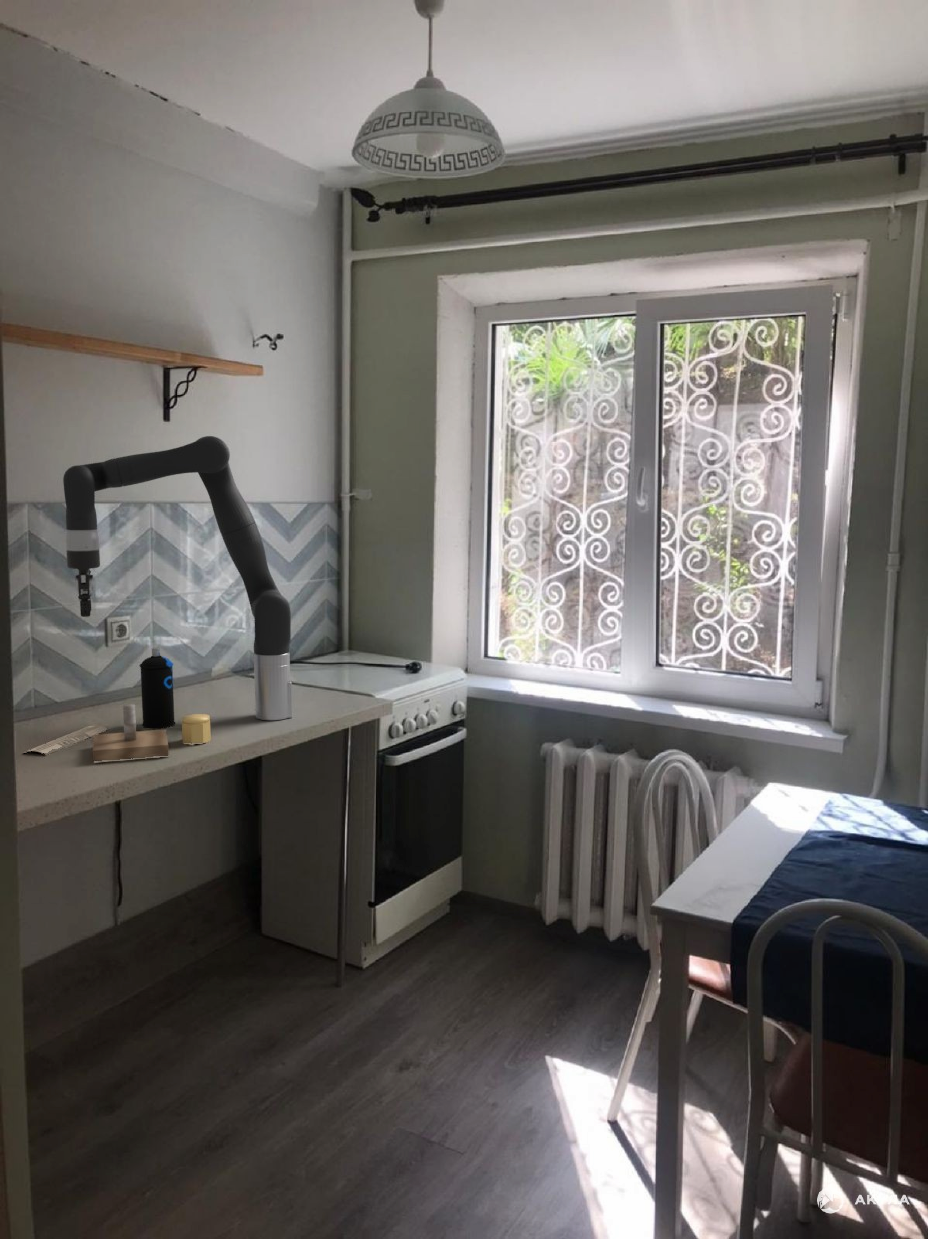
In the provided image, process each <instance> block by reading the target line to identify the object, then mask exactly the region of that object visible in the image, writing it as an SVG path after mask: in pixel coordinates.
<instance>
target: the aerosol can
mask: <svg viewBox="0 0 928 1239" xmlns="http://www.w3.org/2000/svg"><path fill="white" fill-rule="evenodd" d="M160 650H161V647H152V648H151V656H150V657H147V658H144V660H143V661H142V662H141V663H140V664H139V668H140V683H141V684H140V685H141V686H140V687H141V709H142V712H141V713H142V724H141V727H142V726H143V727H142V728H143V729H147V730H162V729H161V728H163V729H168V728H171V727H170V726H172V727H174V726H175V725H176V724H177V723H176V721H175V702H174V701H175V699H174V675H173V674H174V672H173V666H174V662H172V661H171V660H170V659H169V658H168V657H165V656H163V655H161V653H160ZM167 727H168V728H167Z"/></svg>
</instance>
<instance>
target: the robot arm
mask: <svg viewBox="0 0 928 1239" xmlns="http://www.w3.org/2000/svg"><path fill="white" fill-rule="evenodd" d="M230 453H231V452H230V449H229V447H228V445H227V444H226V442H225V441H224V440H223V439H221V438H219V437H218V436H212V435H206V436H202V437H200V438H198V439H196V440H195V441H193V442H190V443H187V444H184V445H182V446H177V447H175V448H171V449H165V450H160V451H154V452H153V451H152V452H144V453H138V454H137V453H136V454H131V455H126V456H125V455H124V456H120V457H113V458H111V459H107V460H105V461H101V462H93V463H87V464H86V463H85V464H78V465H73V466H71V467H68V468H67V470H65V472H64V474H63V478H62V479H63V480H62V482H63V484H62V485H63V492H64V501H65V502H64V503H65V508H66V509H65V527H66V528H65V529H66V531H65V532H66V534H65V545H66V546H65V550H66V565H67V568H68V569H73V570H74V569H75V570H78V574H76V575H75V584H76V594H78V597H77V598H78V600H79V606H80V607H79V609H80V616H81V617H83V618H89V617H91V612H92V599H91V598H92V594H93V588H94V587H93V583H94V574H91V573H92V571H91V569H97V568H100V566H101V557H100V539H99V532H98V520H97V518H98V517H97V511H96V507H95V504H96V502H95V498H96V497H95V496H96V495H95V494H96V493H95V492H99V491H103V490H106V489H112V488H115V489H116V488H122V487H128V486H132V485H138V484H142V483H146V482H151V481H154V480H159V479H161V478H166V477H169V476H175V475H183V474H189V473H191V474H192V473H193V474H194V473H198V475H199V478H200V479H201V482H202V483H203V486H204V487H205V489H206V491H207V494H208V496H209V500H210V503H211V508H212V511H213V515H214V518H215V520H216V524H217V526H218V529H219V532H220V535H221V537H222V540H223V543H224V545H225V548H226V549H227V552H228V554H229V556H230V558H231V560H232V562H233V565H234V566H235V568H236V570H237V572H238V574H239V576H240V577H241V579H242V582H243V585H244V588H245V590H246V595H247V598H248V602H249V605H250V610H251V614H252V616H253V618H254V640H253V667H254V668H253V670H254V671H253V673H254V674H253V675H254V678H253V679H254V707H255V708H254V711H255V712H254V714H255V718H256V719H258V720H263V721H279V720H284V719H290V718H293V685H292V684H293V683H292V681H291V666H290V665H291V658H290V657H291V656H290V654H291V653H290V651H291V650H290V648H291V647H290V646H291V638H292V636H291V634H292V631H291V630H292V629H291V627H292V626H291V625H292V624H291V623H292V621H291V617H292V616H291V613H292V612H291V606H290V604H289V602H288V600H287V598H285V597H284V596H283V595H282V594H281V592H280V591H279V589H278V587H277V585H276V582H275V581H274V578H273V577H272V574H271V572H270V569H269V566H268V560H267V555H266V550H265V546H264V543H263V540H262V536H261V533H260V531H259V528H258V525H257V523H256V520H255V518H254V515H253V513H252V511H251V509H250V508H249V506H248V504H247V502H246V501H245V499H244V498H243V496H242V494H241V492H240V490H239V489H238V487H237V484H236V482H235V479H234V476H233V473H232V469H231V466H230V463H229V461H230V455H231V454H230Z"/></svg>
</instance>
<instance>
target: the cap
mask: <svg viewBox="0 0 928 1239" xmlns="http://www.w3.org/2000/svg"><path fill="white" fill-rule="evenodd" d="M210 718H211V717H210V715H209V714H206V713H205V714H204V713H192V714H188V715H187V714H186V715H183V716H182V717H181V735H182V737H181V738H182V740H183V741H182V740H181V741H182V744H183V743H191V744H192V743H205V742H208V741H210V740H211V741H212V739H211V734H212V733H211V720H210Z"/></svg>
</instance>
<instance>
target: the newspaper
mask: <svg viewBox="0 0 928 1239" xmlns="http://www.w3.org/2000/svg"><path fill="white" fill-rule="evenodd" d="M105 730H107V731H108V729H107V728H106V727H104V726H101V725H89V726H86V727H84V728H81V729H78V730H76V731H74V732H72V733H68V734H66V735H63V736H61V737H58V738H56V740H55V739H53V740H50V741H48V742H46V744H45V743H43V744H41V745H40V744H39V746H35V747H33V748H30V749H31V750H30V749H27V751H28V752H30V753H32V752H38V753H41V754H43V753H48V752H49V751H51V750H52V749H58V748H60V747H62V746H68V745H69V744H72V743H76V742H77V741H79V740H80V739H85V738H88V737H90V736H93V737H94V735H96V734H97V733H99V732H103V731H105ZM105 732H106V731H105ZM103 733H104V732H103ZM88 739H89V738H88ZM76 744H77V743H76ZM31 751H32V752H31Z"/></svg>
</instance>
